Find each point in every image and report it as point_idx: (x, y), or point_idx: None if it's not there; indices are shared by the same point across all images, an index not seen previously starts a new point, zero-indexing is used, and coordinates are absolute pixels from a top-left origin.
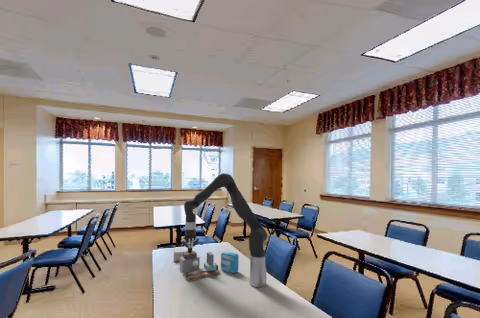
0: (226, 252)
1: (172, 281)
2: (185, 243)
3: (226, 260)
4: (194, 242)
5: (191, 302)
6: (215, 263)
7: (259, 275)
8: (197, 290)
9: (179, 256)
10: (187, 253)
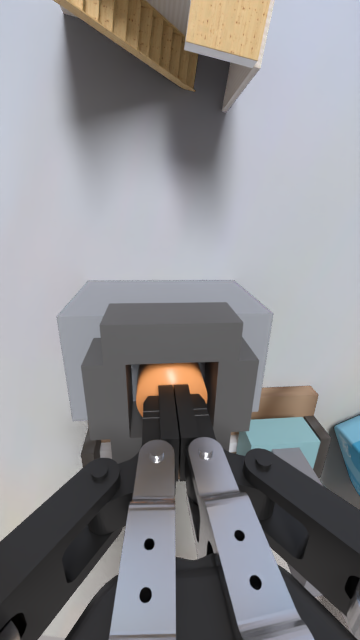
0: None
1: (9, 445)
2: (47, 626)
3: None
4: (310, 519)
5: (70, 600)
6: (329, 444)
7: None
8: (118, 549)
9: (121, 43)
10: (136, 404)
